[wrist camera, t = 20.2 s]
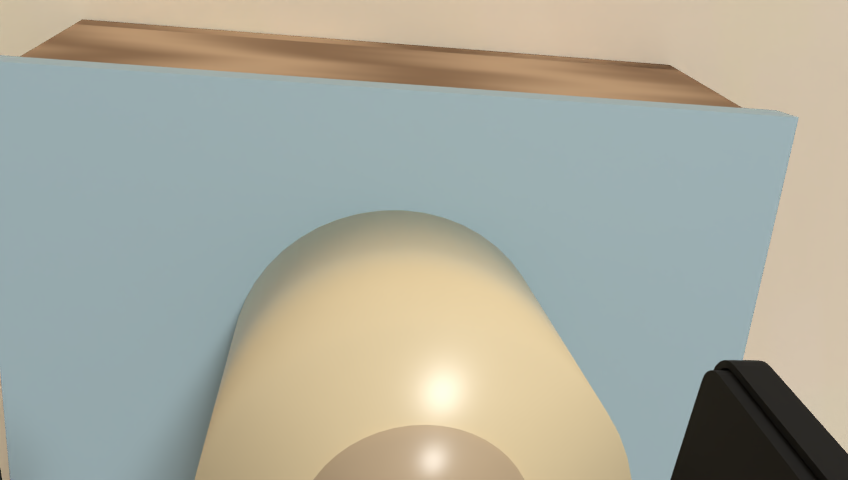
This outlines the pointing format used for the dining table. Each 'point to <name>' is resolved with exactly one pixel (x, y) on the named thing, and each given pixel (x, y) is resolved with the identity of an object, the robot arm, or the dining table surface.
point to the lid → (338, 198)
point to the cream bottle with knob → (402, 366)
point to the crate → (372, 62)
